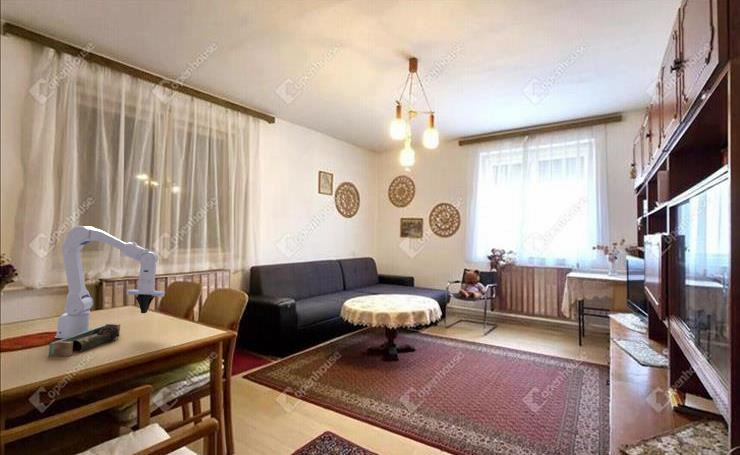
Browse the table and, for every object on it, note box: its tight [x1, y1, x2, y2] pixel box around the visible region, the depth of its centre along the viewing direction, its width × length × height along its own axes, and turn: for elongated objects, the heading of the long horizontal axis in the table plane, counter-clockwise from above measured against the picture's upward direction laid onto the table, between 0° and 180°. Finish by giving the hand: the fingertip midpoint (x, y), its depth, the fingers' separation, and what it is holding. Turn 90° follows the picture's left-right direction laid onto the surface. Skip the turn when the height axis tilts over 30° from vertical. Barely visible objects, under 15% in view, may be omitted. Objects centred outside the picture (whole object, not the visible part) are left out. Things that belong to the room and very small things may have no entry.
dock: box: [48, 322, 121, 357], centre depth 135 cm, size 6×27×4 cm, turn 3°
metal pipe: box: [72, 327, 120, 353], centre depth 136 cm, size 18×7×6 cm, turn 173°
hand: (143, 312), depth 151 cm, fingers closed
